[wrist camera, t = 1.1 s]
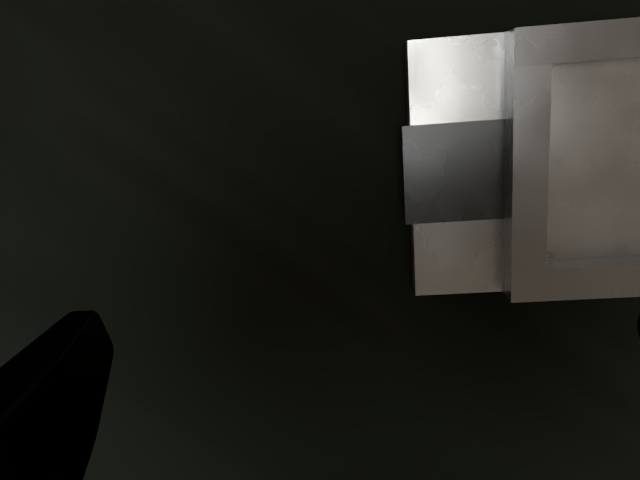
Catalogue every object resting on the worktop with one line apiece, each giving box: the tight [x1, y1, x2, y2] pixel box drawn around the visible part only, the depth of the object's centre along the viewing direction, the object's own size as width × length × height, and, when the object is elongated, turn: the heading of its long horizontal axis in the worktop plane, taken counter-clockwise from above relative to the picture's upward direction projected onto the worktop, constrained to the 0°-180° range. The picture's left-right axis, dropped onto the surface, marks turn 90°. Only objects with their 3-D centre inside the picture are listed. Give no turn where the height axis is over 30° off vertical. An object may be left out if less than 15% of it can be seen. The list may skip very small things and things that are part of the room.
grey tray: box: [402, 17, 640, 303], centre depth 19 cm, size 9×17×2 cm, turn 94°
